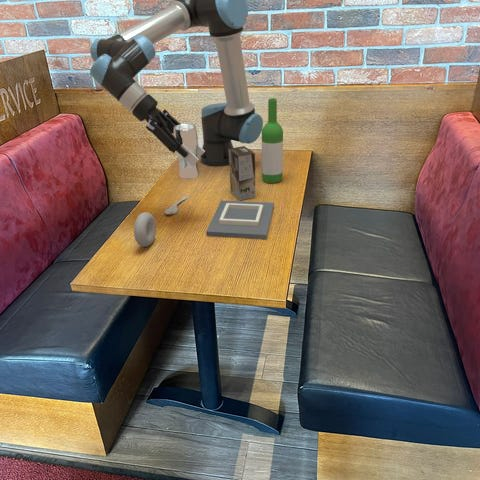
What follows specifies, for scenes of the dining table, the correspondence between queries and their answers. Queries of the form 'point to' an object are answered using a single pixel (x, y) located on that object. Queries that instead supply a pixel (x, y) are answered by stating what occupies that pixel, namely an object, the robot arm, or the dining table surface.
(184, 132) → the chrome tumbler
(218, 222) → the grey square plate
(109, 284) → the dining table surface
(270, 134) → the wine bottle
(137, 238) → the donut
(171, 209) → the spoon
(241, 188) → the coffee box
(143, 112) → the robot arm
